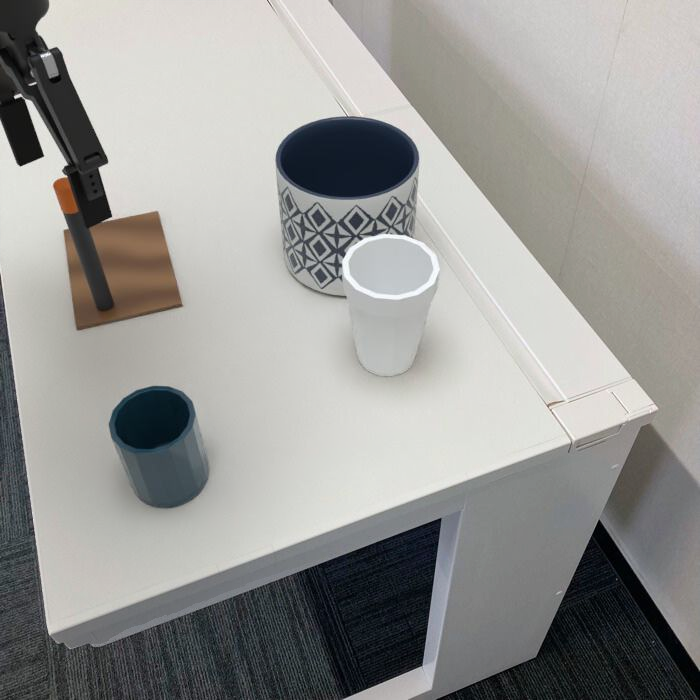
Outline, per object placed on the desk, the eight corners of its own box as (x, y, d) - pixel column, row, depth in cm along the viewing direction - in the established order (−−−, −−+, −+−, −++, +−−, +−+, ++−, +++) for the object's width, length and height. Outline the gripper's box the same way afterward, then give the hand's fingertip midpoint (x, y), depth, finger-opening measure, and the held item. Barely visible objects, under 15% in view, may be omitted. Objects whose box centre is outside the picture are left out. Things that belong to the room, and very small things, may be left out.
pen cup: (159, 523, 71) (138, 469, 64) (117, 472, 74) (93, 416, 68) (224, 476, 74) (211, 420, 67) (181, 430, 78) (164, 372, 71)
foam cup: (411, 315, 88) (418, 226, 78) (443, 374, 82) (455, 285, 73) (332, 335, 86) (329, 246, 76) (359, 396, 80) (359, 308, 71)
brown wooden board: (182, 306, 89) (182, 303, 89) (77, 330, 87) (75, 327, 87) (158, 213, 101) (157, 210, 100) (64, 232, 98) (63, 229, 98)
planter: (413, 216, 100) (420, 117, 89) (412, 302, 90) (419, 202, 79) (291, 211, 101) (284, 113, 90) (276, 296, 90) (265, 196, 80)
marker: (102, 314, 88) (59, 192, 75) (92, 304, 89) (48, 183, 76) (118, 305, 89) (78, 183, 76) (108, 296, 90) (68, 174, 77)
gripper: (112, 2, 56) (164, 232, 72) (-34, -88, 68) (38, 124, 84) (15, 35, 53) (93, 268, 68) (-120, -66, 65) (-28, 151, 81)
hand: (62, 189), depth 76 cm, fingers open, 13 cm apart
